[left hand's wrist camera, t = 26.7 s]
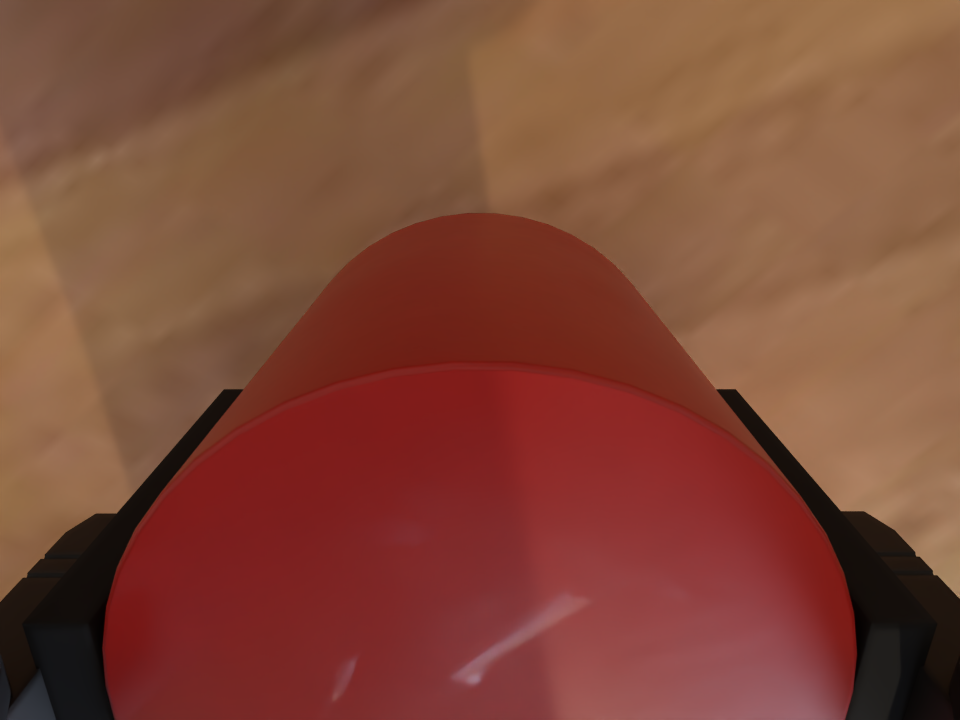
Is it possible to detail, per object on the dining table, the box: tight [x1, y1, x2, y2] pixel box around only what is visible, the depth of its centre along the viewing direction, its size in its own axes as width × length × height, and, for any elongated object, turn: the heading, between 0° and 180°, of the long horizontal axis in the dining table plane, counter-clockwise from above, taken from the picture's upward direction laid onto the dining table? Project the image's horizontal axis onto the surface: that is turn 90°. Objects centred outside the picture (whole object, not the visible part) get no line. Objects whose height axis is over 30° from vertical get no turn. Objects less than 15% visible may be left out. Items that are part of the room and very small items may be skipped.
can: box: [102, 213, 857, 720], centre depth 12 cm, size 9×9×9 cm
